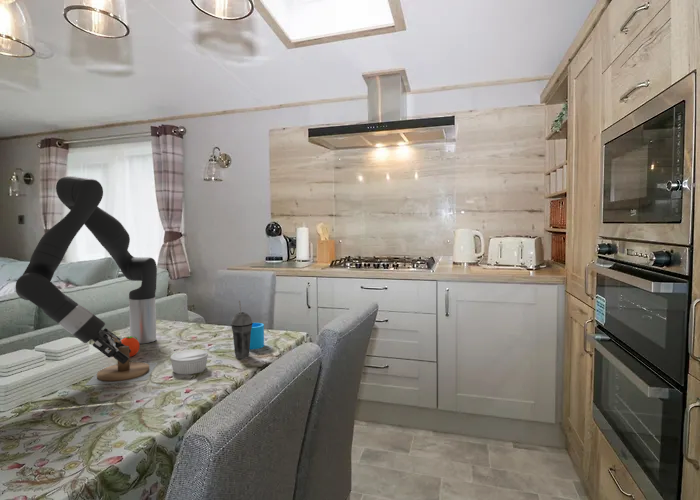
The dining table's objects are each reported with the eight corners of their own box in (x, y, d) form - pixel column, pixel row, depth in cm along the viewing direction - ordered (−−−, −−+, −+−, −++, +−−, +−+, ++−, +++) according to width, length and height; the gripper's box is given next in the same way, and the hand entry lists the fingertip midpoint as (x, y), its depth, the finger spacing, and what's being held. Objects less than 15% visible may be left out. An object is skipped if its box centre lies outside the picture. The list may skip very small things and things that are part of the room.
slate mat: (103, 368, 130) (103, 366, 130) (157, 364, 134) (157, 362, 134) (84, 387, 115) (84, 385, 115) (146, 381, 119) (146, 380, 119)
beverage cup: (256, 354, 144) (256, 298, 143) (245, 361, 137) (244, 302, 136) (239, 352, 147) (238, 297, 146) (227, 358, 140) (226, 301, 139)
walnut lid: (105, 367, 129) (104, 342, 129) (153, 363, 133) (152, 339, 133) (90, 383, 116) (88, 356, 115) (143, 379, 120) (143, 352, 119)
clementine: (129, 352, 147) (129, 333, 146) (146, 353, 145) (146, 334, 145) (112, 359, 139) (111, 338, 139) (130, 360, 138) (129, 340, 137)
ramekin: (192, 379, 121) (191, 361, 121) (162, 374, 125) (161, 357, 125) (215, 367, 132) (215, 351, 132) (187, 363, 135) (187, 347, 135)
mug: (264, 348, 152) (264, 327, 151) (241, 350, 150) (241, 328, 149) (263, 340, 163) (263, 319, 163) (242, 341, 161) (242, 321, 161)
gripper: (88, 318, 114) (135, 354, 119) (96, 309, 127) (138, 341, 132) (66, 339, 112) (115, 374, 117) (76, 328, 125) (120, 359, 130)
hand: (127, 357), depth 125 cm, fingers open, 8 cm apart
